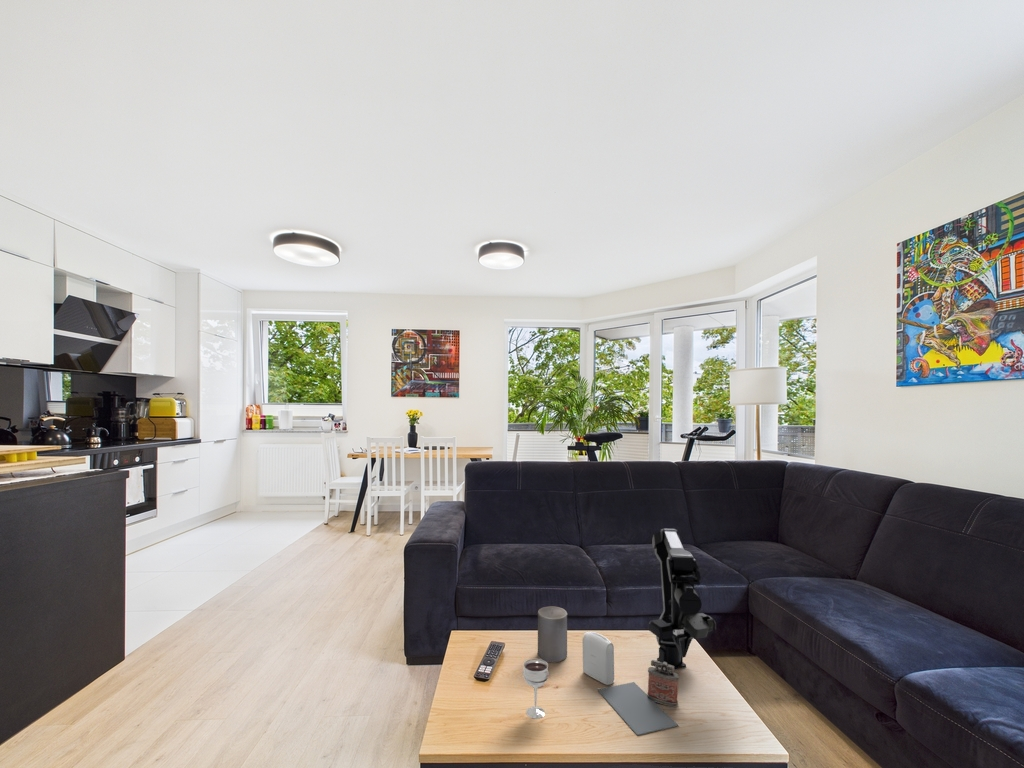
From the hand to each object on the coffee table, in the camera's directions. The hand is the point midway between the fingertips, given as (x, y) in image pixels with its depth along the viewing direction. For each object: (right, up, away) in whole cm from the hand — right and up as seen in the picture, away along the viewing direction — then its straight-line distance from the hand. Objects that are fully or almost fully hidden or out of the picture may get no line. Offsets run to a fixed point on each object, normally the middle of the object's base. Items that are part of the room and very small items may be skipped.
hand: (682, 656), depth 131 cm
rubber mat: (-15, -10, -6) cm, 19 cm away
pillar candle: (-35, -12, +21) cm, 43 cm away
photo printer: (-22, -11, +9) cm, 26 cm away
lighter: (-7, -11, -3) cm, 13 cm away
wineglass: (-42, -10, -8) cm, 44 cm away
